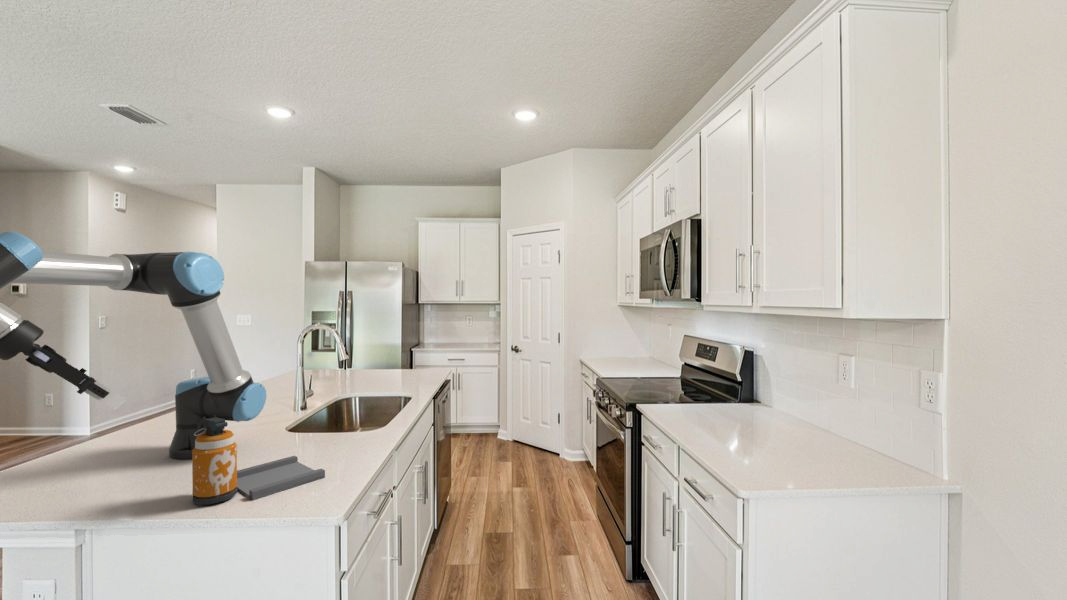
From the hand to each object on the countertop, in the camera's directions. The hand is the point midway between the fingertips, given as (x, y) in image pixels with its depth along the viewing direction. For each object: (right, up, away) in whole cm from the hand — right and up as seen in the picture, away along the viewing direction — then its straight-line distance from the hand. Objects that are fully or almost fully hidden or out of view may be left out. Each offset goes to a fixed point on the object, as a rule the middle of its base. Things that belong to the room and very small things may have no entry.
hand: (114, 400), depth 100 cm
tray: (+20, -27, +26) cm, 43 cm away
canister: (+11, -27, +15) cm, 33 cm away
